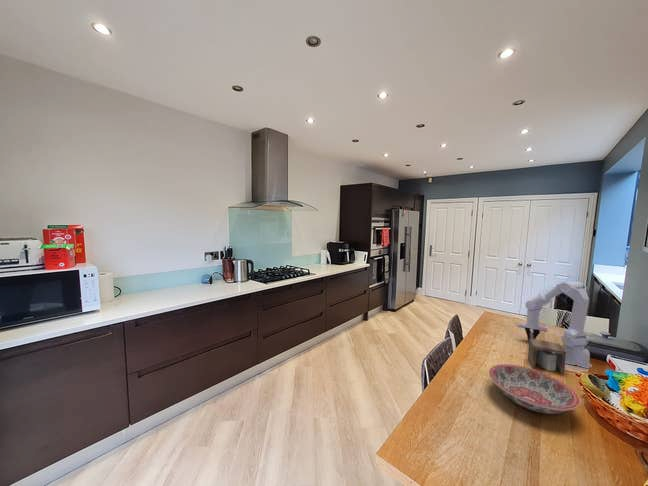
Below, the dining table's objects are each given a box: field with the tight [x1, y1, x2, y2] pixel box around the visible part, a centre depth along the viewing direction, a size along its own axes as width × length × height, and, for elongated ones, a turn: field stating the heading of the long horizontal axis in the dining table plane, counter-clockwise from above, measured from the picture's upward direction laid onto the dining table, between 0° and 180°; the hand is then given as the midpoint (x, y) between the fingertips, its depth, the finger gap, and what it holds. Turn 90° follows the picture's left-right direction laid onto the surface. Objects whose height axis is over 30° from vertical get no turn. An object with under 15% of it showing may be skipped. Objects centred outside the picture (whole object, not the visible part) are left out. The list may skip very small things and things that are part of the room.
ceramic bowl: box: [488, 363, 581, 415], centre depth 105 cm, size 29×29×8 cm
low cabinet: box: [527, 338, 566, 376], centre depth 131 cm, size 12×10×12 cm
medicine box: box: [536, 349, 557, 372], centre depth 131 cm, size 8×4×9 cm, turn 179°
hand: (531, 340), depth 158 cm, fingers closed
